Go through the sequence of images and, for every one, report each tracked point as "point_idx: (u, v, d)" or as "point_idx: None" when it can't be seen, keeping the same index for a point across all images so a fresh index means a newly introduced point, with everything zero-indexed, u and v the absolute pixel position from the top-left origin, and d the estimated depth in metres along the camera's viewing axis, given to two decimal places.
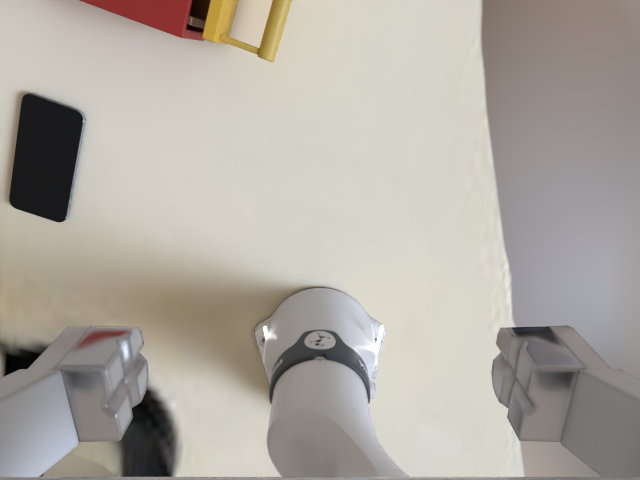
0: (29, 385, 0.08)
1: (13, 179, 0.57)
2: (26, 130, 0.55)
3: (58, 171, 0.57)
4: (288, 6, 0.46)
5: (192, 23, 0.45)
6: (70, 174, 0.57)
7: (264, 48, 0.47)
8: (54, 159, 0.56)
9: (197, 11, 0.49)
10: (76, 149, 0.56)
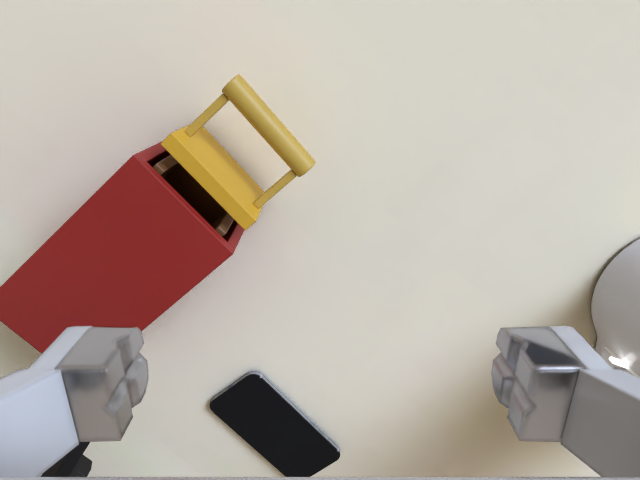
0: (29, 385, 0.08)
1: (275, 465, 0.52)
2: (240, 426, 0.50)
3: (292, 427, 0.50)
4: (265, 107, 0.33)
5: (225, 229, 0.35)
6: (301, 420, 0.50)
7: (295, 164, 0.34)
8: (279, 423, 0.50)
9: (219, 207, 0.40)
10: (282, 399, 0.49)
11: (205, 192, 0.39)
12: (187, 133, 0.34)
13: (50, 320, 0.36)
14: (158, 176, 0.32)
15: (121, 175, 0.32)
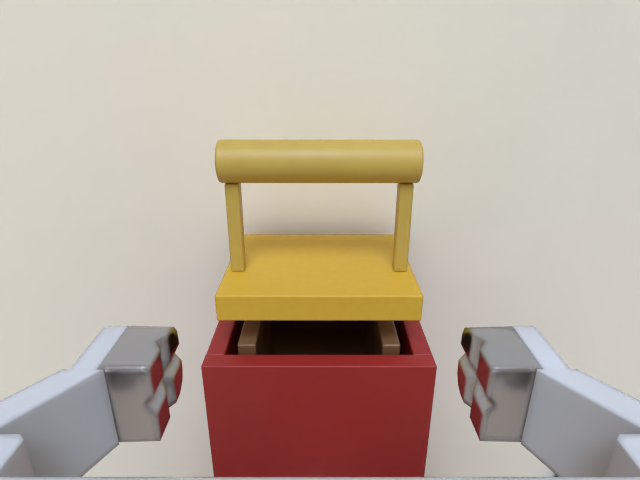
0: (74, 385, 0.08)
1: None
2: None
3: None
4: (287, 144, 0.19)
5: (394, 338, 0.20)
6: None
7: (398, 173, 0.19)
8: None
9: None
10: None
11: None
12: (237, 270, 0.21)
13: None
14: (254, 359, 0.19)
15: (215, 400, 0.19)
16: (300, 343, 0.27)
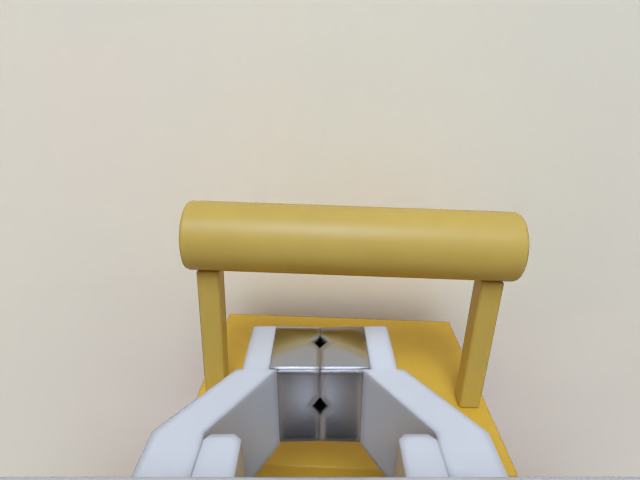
0: (255, 385, 0.08)
1: None
2: None
3: None
4: (301, 214, 0.11)
5: None
6: None
7: (484, 270, 0.11)
8: None
9: None
10: None
11: None
12: None
13: None
14: None
15: None
16: None
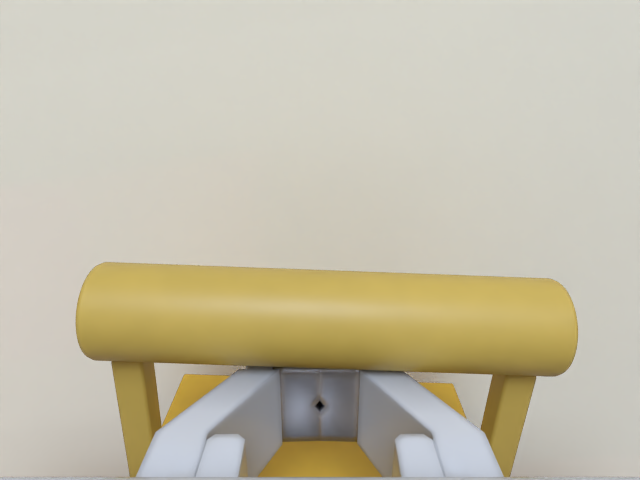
0: (258, 385, 0.08)
1: None
2: None
3: None
4: (253, 287, 0.08)
5: None
6: None
7: (512, 366, 0.08)
8: None
9: None
10: None
11: None
12: None
13: None
14: None
15: None
16: None
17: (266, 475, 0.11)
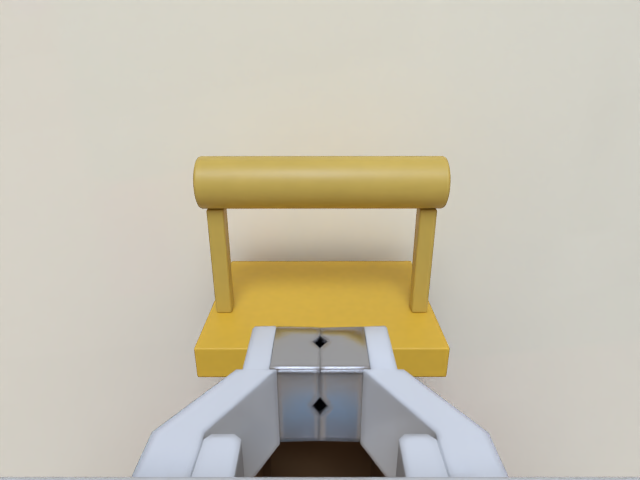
0: (255, 385, 0.08)
1: None
2: None
3: None
4: (282, 162, 0.15)
5: None
6: None
7: (418, 198, 0.15)
8: None
9: None
10: None
11: None
12: (223, 311, 0.17)
13: None
14: None
15: None
16: None
17: (290, 298, 0.18)
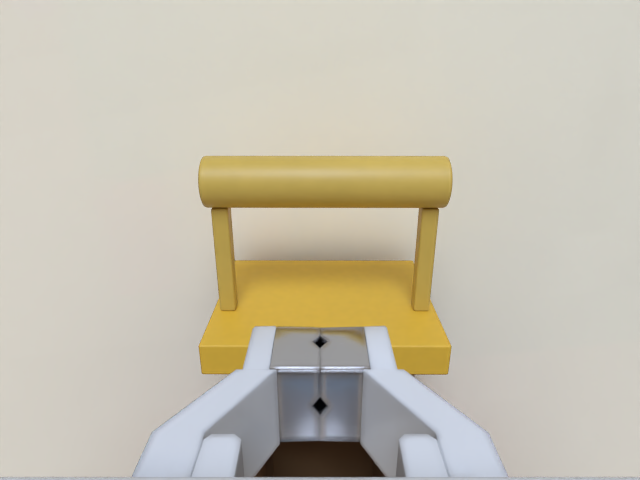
0: (255, 385, 0.08)
1: None
2: None
3: None
4: (286, 161, 0.15)
5: None
6: None
7: (421, 197, 0.15)
8: None
9: None
10: None
11: None
12: (227, 309, 0.17)
13: None
14: None
15: None
16: None
17: (293, 297, 0.18)
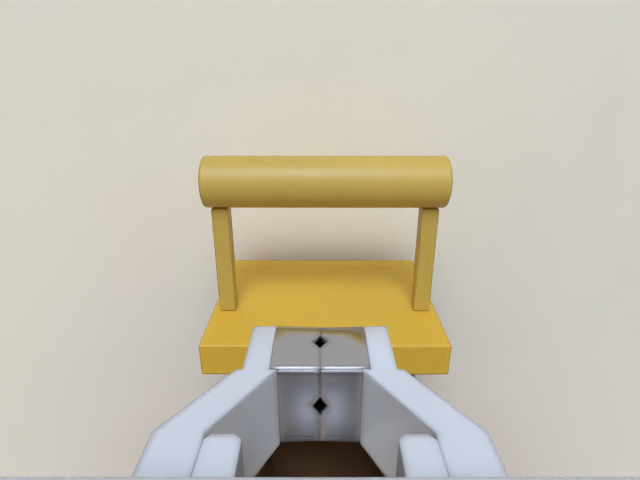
0: (255, 385, 0.08)
1: None
2: None
3: None
4: (286, 161, 0.15)
5: None
6: None
7: (421, 197, 0.15)
8: None
9: None
10: None
11: None
12: (227, 309, 0.17)
13: None
14: None
15: None
16: None
17: (293, 297, 0.18)
